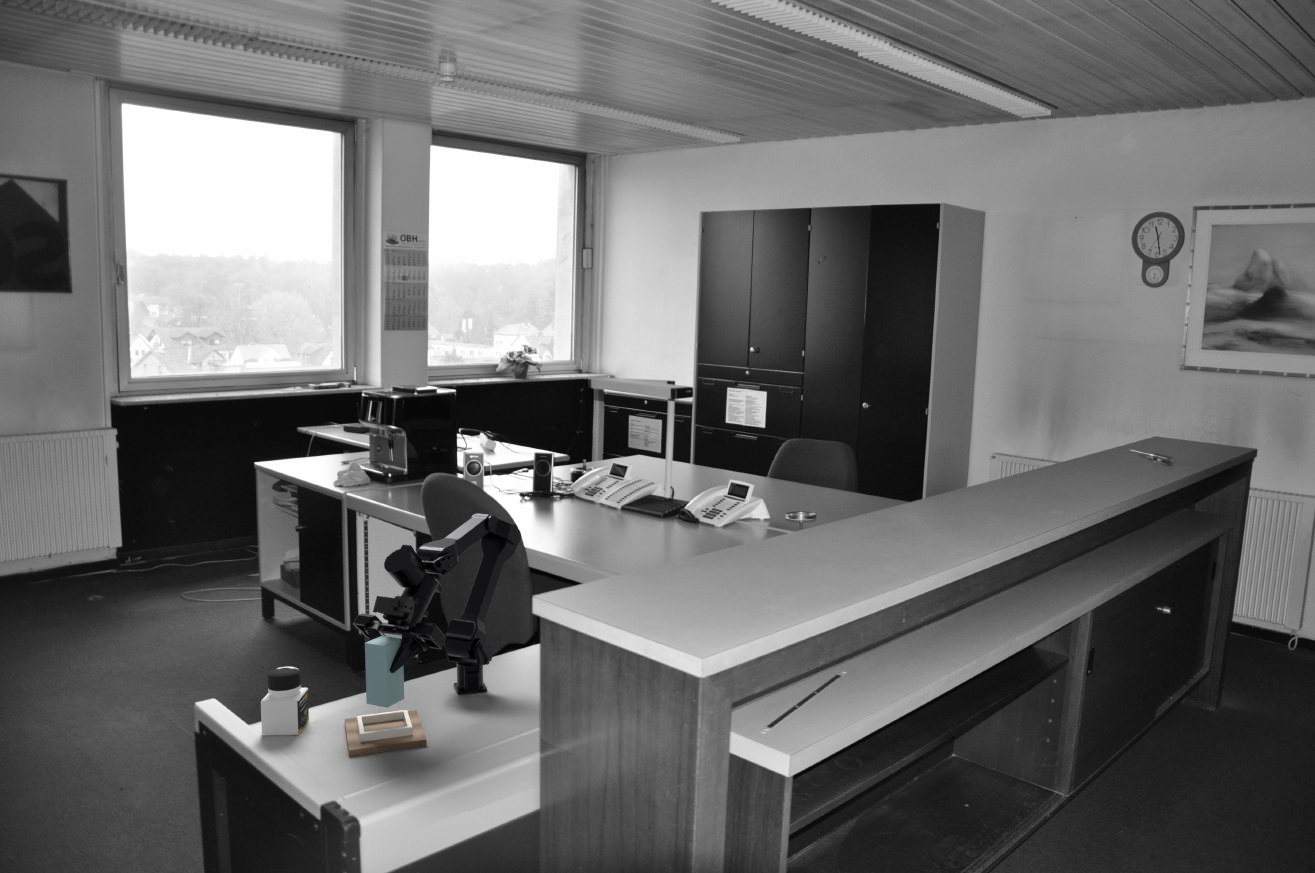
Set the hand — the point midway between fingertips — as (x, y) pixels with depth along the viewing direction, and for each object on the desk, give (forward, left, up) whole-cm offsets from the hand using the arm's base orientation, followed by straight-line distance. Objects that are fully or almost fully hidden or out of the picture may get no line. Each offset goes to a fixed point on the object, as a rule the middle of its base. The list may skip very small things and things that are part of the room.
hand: (380, 670), depth 183 cm
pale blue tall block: (-1, +1, -7) cm, 7 cm away
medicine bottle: (-11, -17, -14) cm, 25 cm away
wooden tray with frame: (-1, +1, -13) cm, 14 cm away
